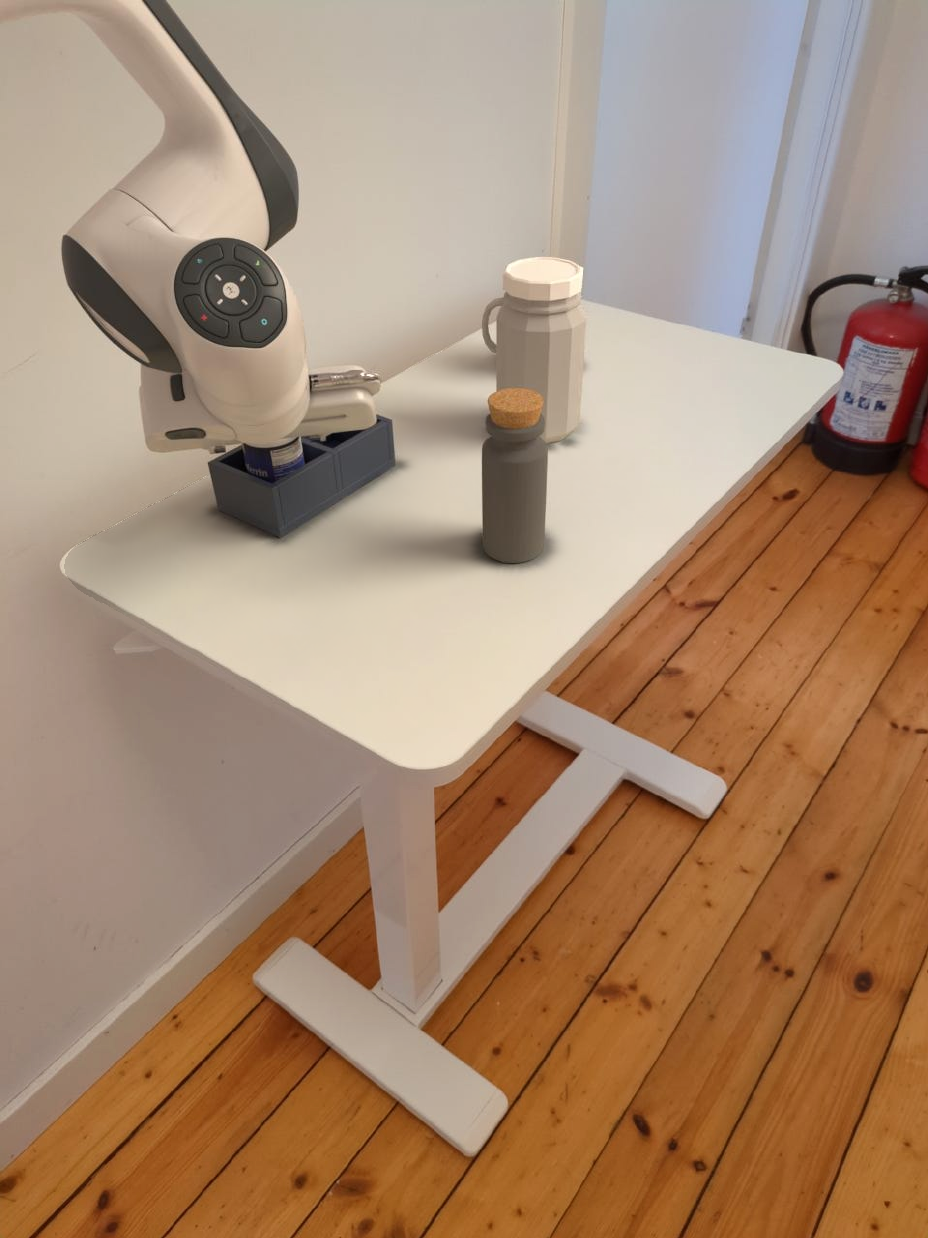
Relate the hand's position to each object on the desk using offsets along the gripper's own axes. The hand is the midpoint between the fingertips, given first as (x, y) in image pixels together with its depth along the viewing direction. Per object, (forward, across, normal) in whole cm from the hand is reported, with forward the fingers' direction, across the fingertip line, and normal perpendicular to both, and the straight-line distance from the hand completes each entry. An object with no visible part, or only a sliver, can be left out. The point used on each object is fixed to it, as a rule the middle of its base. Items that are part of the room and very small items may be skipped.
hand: (267, 439), depth 86 cm
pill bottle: (+6, 0, +4) cm, 7 cm away
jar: (+14, -30, -2) cm, 33 cm away
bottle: (-2, -21, +14) cm, 26 cm away
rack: (+9, -3, +3) cm, 10 cm away
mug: (+26, -34, -15) cm, 46 cm away
